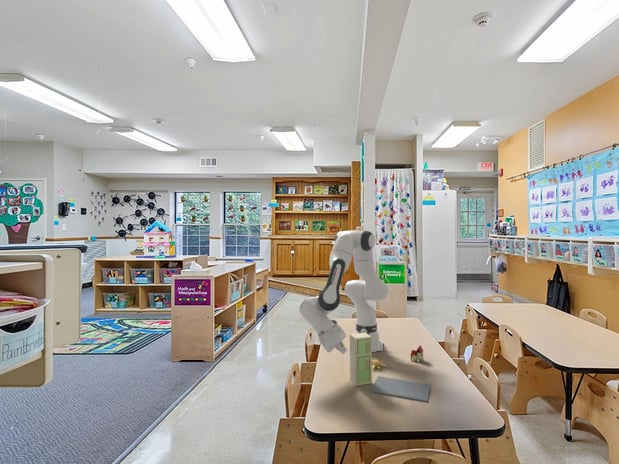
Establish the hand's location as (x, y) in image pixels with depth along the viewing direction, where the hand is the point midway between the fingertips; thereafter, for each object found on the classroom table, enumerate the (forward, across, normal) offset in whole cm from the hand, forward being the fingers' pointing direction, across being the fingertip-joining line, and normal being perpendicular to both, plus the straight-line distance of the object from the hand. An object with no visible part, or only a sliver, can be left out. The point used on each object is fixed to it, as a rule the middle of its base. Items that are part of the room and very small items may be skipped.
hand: (345, 352), depth 161 cm
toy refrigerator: (+14, 0, +4) cm, 15 cm away
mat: (+26, 0, -9) cm, 28 cm away
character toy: (+16, +18, +2) cm, 24 cm away
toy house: (+28, +36, -9) cm, 46 cm away
